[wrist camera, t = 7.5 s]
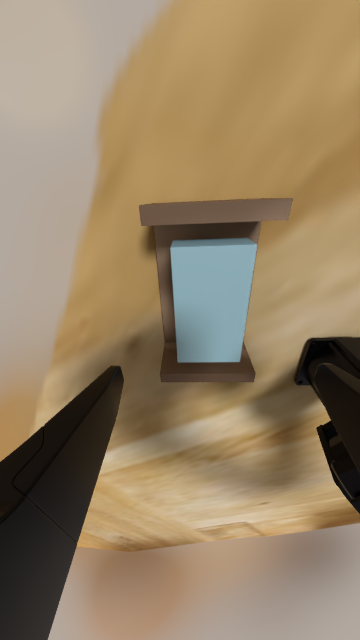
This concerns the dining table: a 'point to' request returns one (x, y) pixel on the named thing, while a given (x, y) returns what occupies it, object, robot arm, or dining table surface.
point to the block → (211, 297)
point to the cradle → (204, 224)
